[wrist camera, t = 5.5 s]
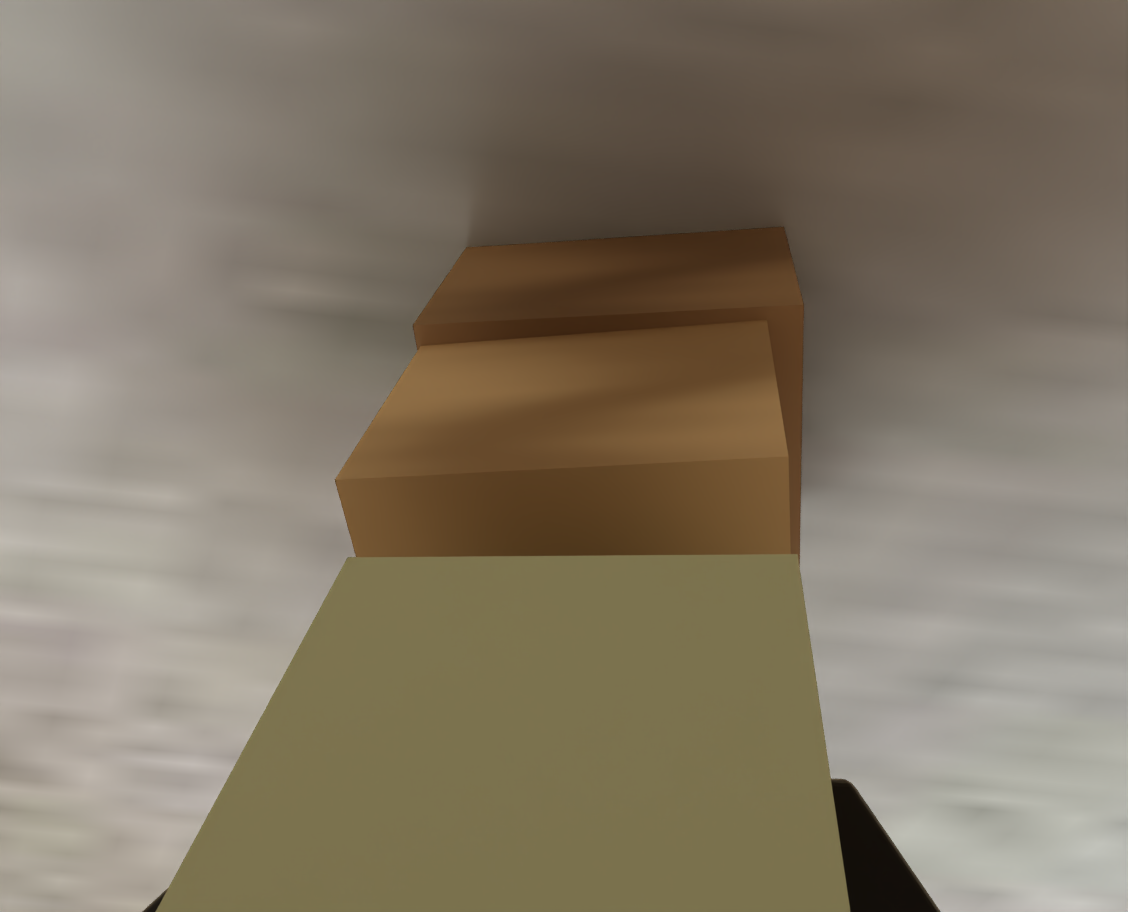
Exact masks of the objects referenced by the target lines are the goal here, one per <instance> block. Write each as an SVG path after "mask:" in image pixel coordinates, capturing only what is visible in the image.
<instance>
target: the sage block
mask: <svg viewBox="0 0 1128 912" xmlns="http://www.w3.org/2000/svg"><path fill="white" fill-rule="evenodd" d="M156 912H850V906H849V899H848V892H847V885H846V878H845V872H844V865H843V858H842V851H841V845H840V838H839V831H838V824H837V818H836V811H835V804H834V797H833V791H832V784H831V777H830V770H829V764H828V757H827V750H826V743H825V736H824V730H823V723H822V716H821V709H820V703H819V696H818V689H817V682H816V676H815V669H814V662H813V655H812V649H811V642H810V635H809V628H808V622H807V615H806V608H805V601H804V595H803V588H802V581H801V574H800V567H799V561H798V554H745V555H606V556H468V557H348V558H347V559H346V561H345V563H344V565H343V567H342V569H341V571H340V572H339V574H338V576H337V578H336V580H335V582H334V583H333V585H332V587H331V589H330V591H329V593H328V595H327V596H326V598H325V600H324V602H323V604H322V606H321V607H320V609H319V611H318V613H317V615H316V617H315V619H314V620H313V622H312V624H311V626H310V628H309V630H308V631H307V633H306V635H305V637H304V639H303V641H302V643H301V644H300V646H299V648H298V650H297V652H296V654H295V655H294V657H293V659H292V661H291V663H290V665H289V667H288V668H287V670H286V672H285V674H284V676H283V678H282V679H281V681H280V683H279V685H278V687H277V689H276V690H275V692H274V694H273V696H272V698H271V700H270V702H269V703H268V705H267V707H266V709H265V711H264V713H263V714H262V716H261V718H260V720H259V722H258V724H257V726H256V727H255V729H254V731H253V733H252V735H251V737H250V738H249V740H248V742H247V744H246V746H245V748H244V750H243V751H242V753H241V755H240V757H239V759H238V761H237V762H236V764H235V766H234V768H233V770H232V772H231V774H230V775H229V777H228V779H227V781H226V783H225V785H224V786H223V788H222V790H221V792H220V794H219V796H218V798H217V799H216V801H215V803H214V805H213V807H212V809H211V810H210V812H209V814H208V816H207V818H206V820H205V822H204V823H203V825H202V827H201V829H200V831H199V833H198V834H197V836H196V838H195V840H194V842H193V844H192V846H191V847H190V849H189V851H188V853H187V855H186V857H185V858H184V860H183V862H182V864H181V866H180V868H179V870H178V871H177V873H176V875H175V877H174V879H173V881H172V882H171V884H170V886H169V888H168V890H167V892H166V894H165V895H164V897H163V899H162V901H161V903H160V905H159V906H158V908H157V910H156Z"/></svg>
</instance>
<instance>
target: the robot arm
mask: <svg viewBox="0 0 1128 912" xmlns="http://www.w3.org/2000/svg"><path fill="white" fill-rule="evenodd" d="M831 784H832V791H833V797H834V804H835V811H836V818H837V824H838V831H839V838H840V845H841V851H842V858H843V865H844V872H845V878H846V885H847V892H848V899H849V906H850V912H940V910H939V909H938V907H937V906H936V904H935V903H934V901H933V900H932V898H931V897H930V896H929V894H928V893H927V891H926V890H925V888H924V887H923V885H922V884H921V882H920V881H919V879H918V878H917V877H916V875H915V874H914V872H913V871H912V869H911V868H910V866H909V865H908V863H907V862H906V860H905V859H904V858H903V856H902V855H901V853H900V852H899V850H898V849H897V847H896V846H895V844H894V843H893V842H892V840H891V839H890V837H889V836H888V834H887V833H886V831H885V830H884V828H883V827H882V825H881V824H880V823H879V821H878V820H877V818H876V817H875V815H874V814H873V812H872V811H871V809H870V808H869V806H868V805H867V804H866V802H865V801H864V799H863V798H862V796H861V795H860V793H859V792H858V790H857V789H856V788H855V787H854V785H853V784H852V783H851V782H849V781H847V780H845V779H831ZM167 890H168V889H167ZM167 890H165V891H164V892H163V893H162V894H161V895H160V896H159V897H158V898H157V899H156V900H155V901H153V902H152V903H151V904H150V905H149V906H148V907H147V908H146V909H145V910H144V911H143V912H156V910H157V908H158V906H159V905H160V903H161V901H162V899H163V897H164V895H165V894H166V892H167Z"/></svg>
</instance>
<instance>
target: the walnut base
mask: <svg viewBox="0 0 1128 912" xmlns="http://www.w3.org/2000/svg"><path fill="white" fill-rule="evenodd" d="M759 320H767V324H768V330H769V336H770V343H771V349H772V355H773V362H774V368H775V374H776V381H777V387H778V393H779V400H780V406H781V412H782V418H783V425H784V431H785V437H786V444H787V450H788V456H789V501H790V546H791V554H798V561H799V567H800V506H801V444H802V382H803V321H804V304H803V300H802V296H801V292H800V288H799V284H798V280H797V276H796V272H795V268H794V264H793V260H792V256H791V253H790V249H789V245H788V241H787V237H786V233H785V229H784V227H772V228H756V229H741V230H726V231H711V232H695V233H680V234H665V235H649V236H634V237H619V238H604V239H588V240H573V241H558V242H542V243H527V244H512V245H497V246H481V247H466V249H465V250H464V252H463V253H462V254H461V256H460V257H459V259H458V260H457V262H456V263H455V265H454V266H453V268H452V269H451V270H450V272H449V273H448V275H447V276H446V278H445V279H444V281H443V282H442V284H441V285H440V286H439V288H438V289H437V291H436V292H435V294H434V295H433V297H432V298H431V299H430V301H429V302H428V304H427V305H426V307H425V308H424V310H423V311H422V313H421V314H420V315H419V317H418V318H417V320H416V321H415V323H414V324H413V329H414V334H415V340H416V345H417V350H418V349H419V348H420V346H426V345H439V344H452V343H466V342H479V341H492V340H506V339H519V338H532V337H546V336H559V335H572V334H586V333H599V332H612V331H626V330H639V329H652V328H666V327H679V326H692V325H706V324H719V323H732V322H746V321H759Z"/></svg>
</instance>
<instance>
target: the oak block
mask: <svg viewBox="0 0 1128 912" xmlns="http://www.w3.org/2000/svg"><path fill="white" fill-rule="evenodd" d="M335 482H336V486H337V490H338V493H339V497H340V500H341V504H342V508H343V511H344V515H345V518H346V522H347V526H348V529H349V533H350V536H351V540H352V544H353V547H354V551H355V554H356V557H468V556H606V555H745V554H791V546H790V501H789V456H788V450H787V444H786V437H785V431H784V425H783V418H782V412H781V406H780V400H779V393H778V387H777V381H776V374H775V368H774V362H773V355H772V349H771V343H770V336H769V330H768V324H767V320H759V321H746V322H732V323H719V324H706V325H692V326H679V327H666V328H652V329H639V330H626V331H612V332H599V333H586V334H572V335H559V336H546V337H532V338H519V339H506V340H492V341H479V342H466V343H452V344H439V345H426V346H420V348H419V349H418V351H417V352H416V354H415V356H414V357H413V359H412V360H411V362H410V363H409V365H408V367H407V368H406V370H405V371H404V373H403V374H402V376H401V377H400V379H399V381H398V382H397V384H396V385H395V387H394V388H393V390H392V391H391V393H390V395H389V396H388V398H387V399H386V401H385V402H384V404H383V406H382V407H381V409H380V410H379V412H378V413H377V415H376V416H375V418H374V420H373V421H372V423H371V424H370V426H369V427H368V429H367V430H366V432H365V434H364V435H363V437H362V438H361V440H360V441H359V443H358V445H357V446H356V448H355V449H354V451H353V452H352V454H351V455H350V457H349V459H348V460H347V462H346V463H345V465H344V466H343V468H342V470H341V471H340V473H339V474H338V476H337V477H336V479H335Z"/></svg>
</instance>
